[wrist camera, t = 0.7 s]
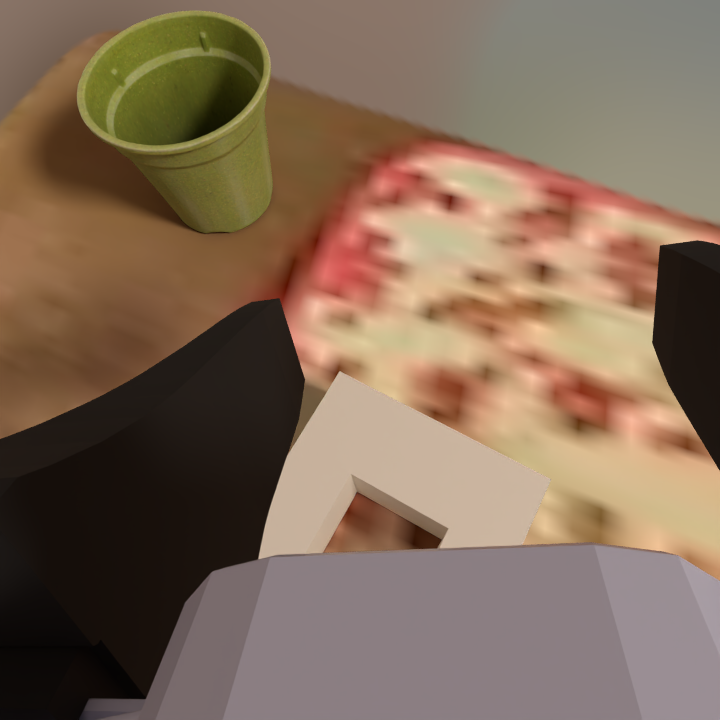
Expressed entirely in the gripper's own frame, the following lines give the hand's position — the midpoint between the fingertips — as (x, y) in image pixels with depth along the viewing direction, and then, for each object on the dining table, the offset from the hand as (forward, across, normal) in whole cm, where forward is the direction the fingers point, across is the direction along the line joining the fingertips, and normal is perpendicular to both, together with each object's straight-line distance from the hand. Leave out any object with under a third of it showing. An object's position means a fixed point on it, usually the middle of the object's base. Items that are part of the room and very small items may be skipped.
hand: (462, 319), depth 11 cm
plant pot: (+24, +14, +3) cm, 28 cm away
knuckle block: (+7, +5, +16) cm, 18 cm away
